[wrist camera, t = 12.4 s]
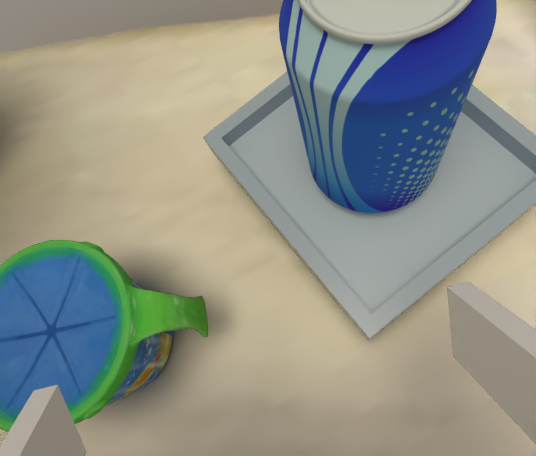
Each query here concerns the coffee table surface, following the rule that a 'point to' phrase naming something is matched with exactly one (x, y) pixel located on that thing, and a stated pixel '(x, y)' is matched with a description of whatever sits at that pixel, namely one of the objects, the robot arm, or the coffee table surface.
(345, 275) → the grey rimmed tray
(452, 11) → the beer can
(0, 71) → the coffee table surface
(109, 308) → the snack cup
